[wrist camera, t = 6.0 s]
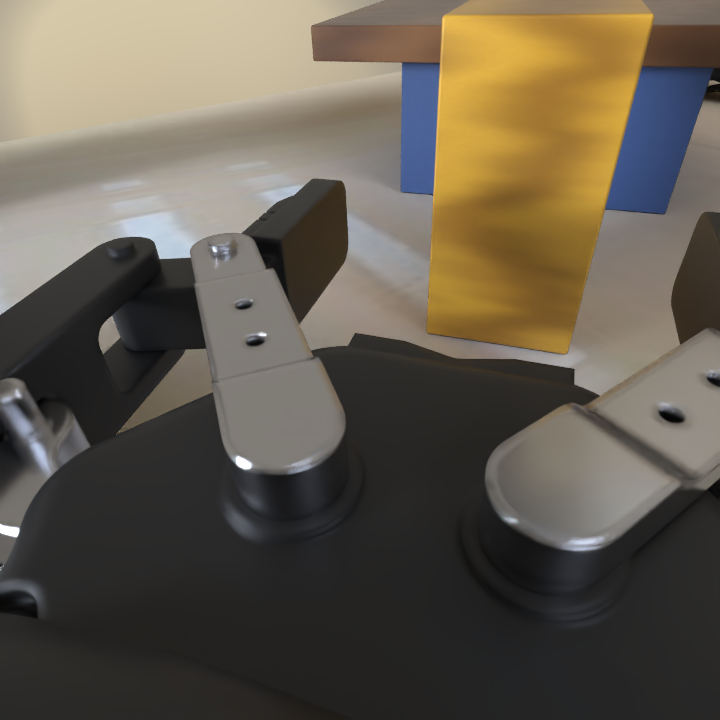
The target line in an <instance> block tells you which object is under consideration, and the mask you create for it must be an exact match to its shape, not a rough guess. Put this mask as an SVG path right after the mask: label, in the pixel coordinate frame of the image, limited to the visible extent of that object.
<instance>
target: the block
mask: <svg viewBox="0 0 720 720" xmlns="http://www.w3.org/2000/svg"><path fill="white" fill-rule="evenodd" d="M654 18H655V17H654V14H653V12H652V11H651V10H650V9H649V8H648V6H647V5H646V4H645V3H644V2H643V1H642V0H469V1H467V2H466V3H464V4H462V5H461V6H459V7H457V8H456V9H454V10H452V11H451V12H449V13H447V14H446V15H444V16H443V18H442V32H441V52H440V72H439V92H438V112H437V132H436V152H435V172H434V192H433V212H432V232H431V251H430V271H429V291H428V311H427V333H431V334H437V335H444V336H450V337H457V338H463V339H469V340H476V341H482V342H489V343H495V344H502V345H508V346H514V347H521V348H527V349H534V350H540V351H547V352H553V353H560V354H567V353H568V350H569V346H570V342H571V338H572V334H573V331H574V327H575V323H576V319H577V315H578V311H579V307H580V304H581V300H582V296H583V292H584V288H585V284H586V280H587V277H588V273H589V269H590V265H591V261H592V257H593V253H594V250H595V246H596V242H597V238H598V234H599V230H600V227H601V223H602V219H603V215H604V211H605V207H606V203H607V200H608V196H609V192H610V188H611V184H612V180H613V176H614V173H615V169H616V165H617V161H618V157H619V153H620V149H621V146H622V142H623V138H624V134H625V130H626V126H627V122H628V119H629V115H630V111H631V107H632V103H633V99H634V95H635V92H636V88H637V84H638V80H639V76H640V72H641V68H642V65H643V61H644V57H645V53H646V49H647V45H648V41H649V38H650V34H651V30H652V26H653V22H654Z"/></svg>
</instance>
